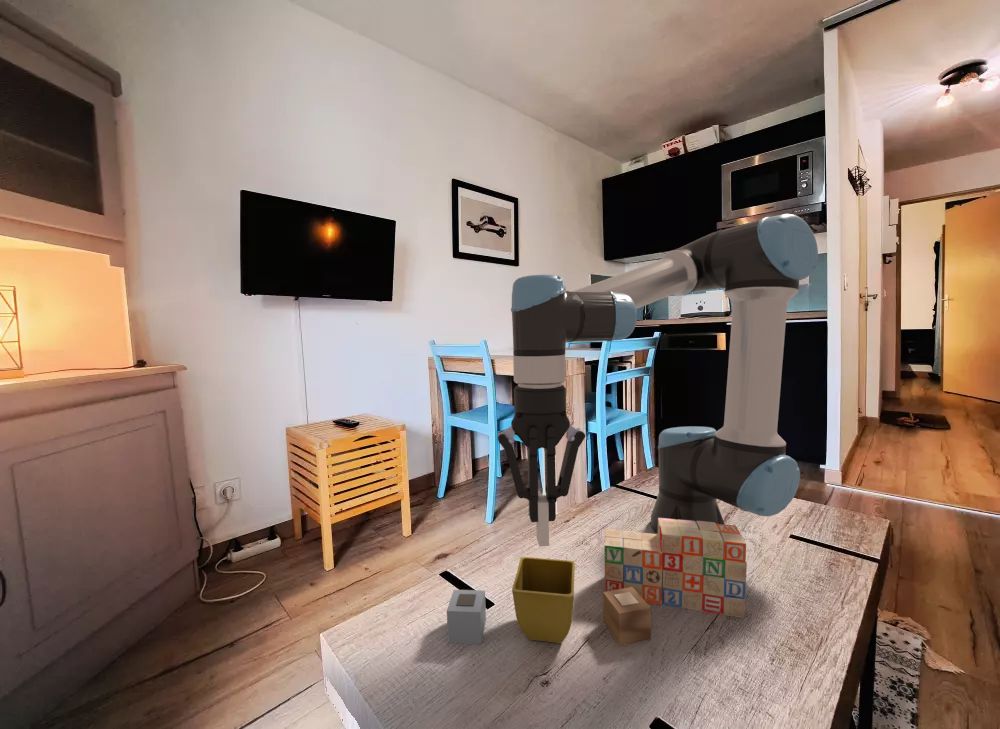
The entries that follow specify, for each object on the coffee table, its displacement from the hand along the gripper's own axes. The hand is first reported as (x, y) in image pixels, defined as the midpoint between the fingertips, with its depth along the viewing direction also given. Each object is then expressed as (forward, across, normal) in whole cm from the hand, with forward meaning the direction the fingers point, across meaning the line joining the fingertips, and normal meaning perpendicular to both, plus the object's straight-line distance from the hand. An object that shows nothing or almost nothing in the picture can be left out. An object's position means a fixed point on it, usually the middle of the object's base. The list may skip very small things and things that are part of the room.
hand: (542, 541), depth 61 cm
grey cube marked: (+14, +12, -1) cm, 19 cm away
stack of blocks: (+14, -22, -7) cm, 27 cm away
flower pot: (+14, 0, 0) cm, 14 cm away
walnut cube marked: (+14, -12, +1) cm, 19 cm away
